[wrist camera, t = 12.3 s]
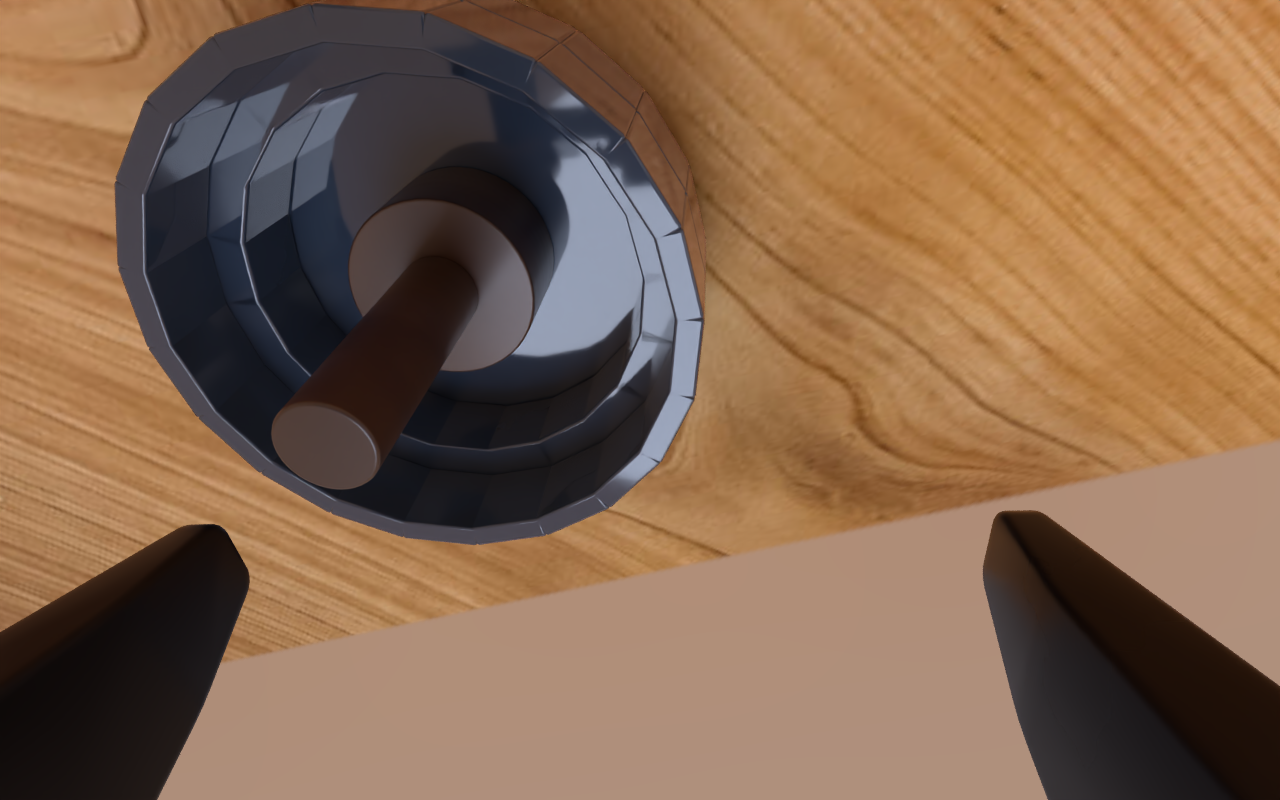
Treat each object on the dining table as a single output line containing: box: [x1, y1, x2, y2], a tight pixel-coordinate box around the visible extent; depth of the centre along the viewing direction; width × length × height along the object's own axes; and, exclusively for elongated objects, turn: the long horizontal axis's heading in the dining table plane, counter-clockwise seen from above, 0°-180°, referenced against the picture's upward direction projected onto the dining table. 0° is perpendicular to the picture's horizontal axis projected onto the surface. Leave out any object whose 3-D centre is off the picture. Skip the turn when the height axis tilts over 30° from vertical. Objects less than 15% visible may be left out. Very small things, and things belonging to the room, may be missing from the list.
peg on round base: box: [271, 167, 554, 489], centre depth 15 cm, size 4×4×8 cm
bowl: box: [115, 0, 706, 545], centre depth 17 cm, size 12×12×5 cm
